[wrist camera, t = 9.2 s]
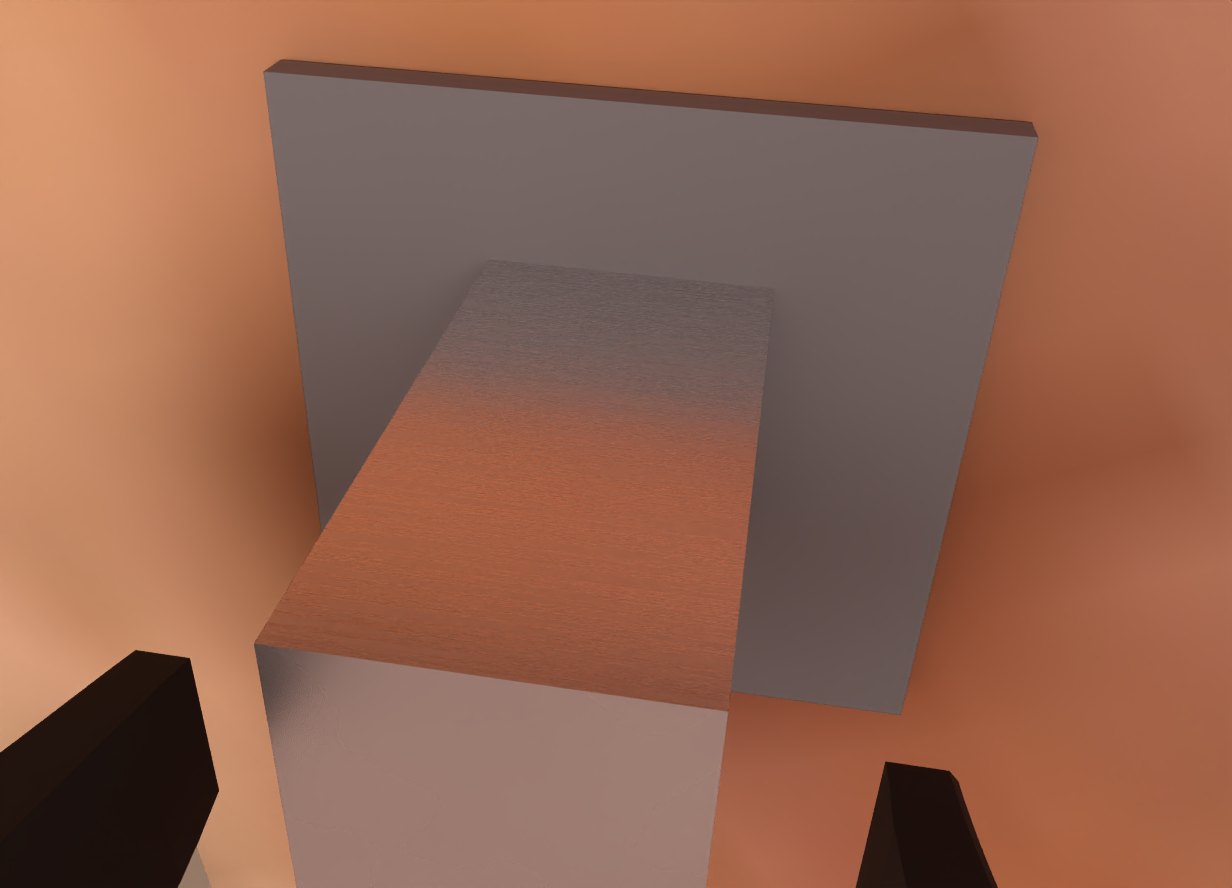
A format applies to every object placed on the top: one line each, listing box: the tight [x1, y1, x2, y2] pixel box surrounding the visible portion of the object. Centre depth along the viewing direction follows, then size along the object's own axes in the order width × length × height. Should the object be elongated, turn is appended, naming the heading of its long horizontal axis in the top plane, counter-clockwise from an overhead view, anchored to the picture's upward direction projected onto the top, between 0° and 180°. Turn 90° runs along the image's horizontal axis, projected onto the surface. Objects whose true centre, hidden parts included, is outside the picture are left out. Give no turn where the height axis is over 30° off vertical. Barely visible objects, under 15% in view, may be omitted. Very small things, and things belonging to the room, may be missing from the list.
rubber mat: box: [264, 60, 1038, 715], centre depth 18 cm, size 10×10×1 cm
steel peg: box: [254, 259, 774, 888], centre depth 14 cm, size 4×4×8 cm
